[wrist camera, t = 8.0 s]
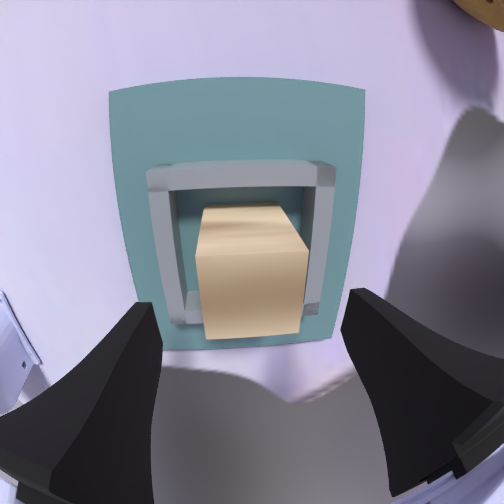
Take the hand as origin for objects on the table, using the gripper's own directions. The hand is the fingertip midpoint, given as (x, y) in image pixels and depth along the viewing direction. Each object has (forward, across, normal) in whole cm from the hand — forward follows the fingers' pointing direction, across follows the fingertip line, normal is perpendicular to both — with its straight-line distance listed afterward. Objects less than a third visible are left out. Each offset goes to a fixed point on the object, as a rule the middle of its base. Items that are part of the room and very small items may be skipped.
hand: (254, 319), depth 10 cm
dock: (+8, 0, 0) cm, 8 cm away
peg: (+7, 0, 0) cm, 7 cm away
